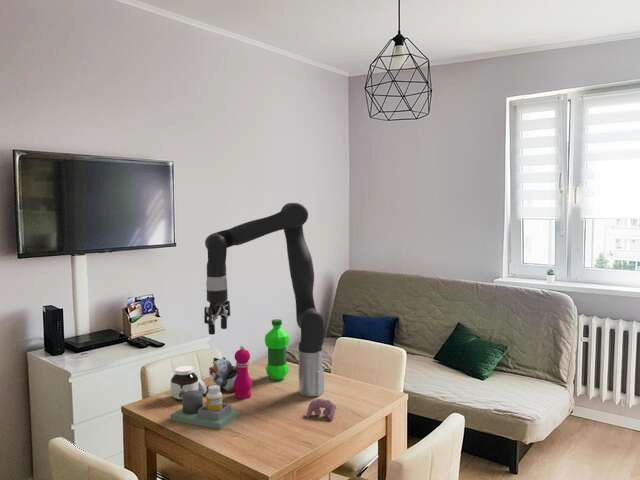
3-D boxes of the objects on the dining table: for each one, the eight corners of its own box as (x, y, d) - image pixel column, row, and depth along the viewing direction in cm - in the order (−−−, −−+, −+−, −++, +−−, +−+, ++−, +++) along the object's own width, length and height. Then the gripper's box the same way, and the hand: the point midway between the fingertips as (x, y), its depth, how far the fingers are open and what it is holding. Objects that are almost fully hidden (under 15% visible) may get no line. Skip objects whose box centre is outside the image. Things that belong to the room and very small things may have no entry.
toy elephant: (335, 421, 189) (337, 401, 191) (332, 420, 185) (334, 399, 187) (308, 418, 192) (311, 398, 194) (305, 417, 188) (307, 396, 190)
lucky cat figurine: (240, 394, 211) (222, 365, 208) (216, 402, 215) (198, 374, 212) (252, 371, 224) (236, 344, 221) (229, 380, 229) (212, 353, 225)
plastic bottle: (293, 375, 233) (292, 318, 231) (281, 383, 223) (281, 324, 221) (272, 372, 237) (272, 316, 235) (260, 380, 227) (260, 321, 225)
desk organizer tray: (238, 415, 190) (238, 393, 190) (220, 429, 179) (219, 406, 178) (191, 407, 198) (190, 386, 197) (170, 420, 186) (170, 397, 186)
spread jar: (167, 400, 205) (167, 370, 204) (183, 390, 216) (183, 361, 215) (195, 404, 201) (195, 373, 200) (210, 393, 212) (210, 364, 211)
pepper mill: (254, 393, 212) (253, 343, 211) (249, 400, 205) (249, 348, 203) (236, 392, 213) (235, 343, 211) (231, 399, 206) (230, 348, 204)
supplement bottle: (207, 411, 189) (207, 384, 188) (222, 410, 190) (222, 383, 189) (205, 417, 184) (205, 389, 183) (221, 417, 184) (221, 389, 184)
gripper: (215, 292, 190) (216, 337, 191) (235, 285, 203) (236, 327, 204) (197, 290, 192) (198, 335, 194) (218, 284, 206) (219, 326, 207)
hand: (218, 331), depth 199 cm, fingers open, 8 cm apart
